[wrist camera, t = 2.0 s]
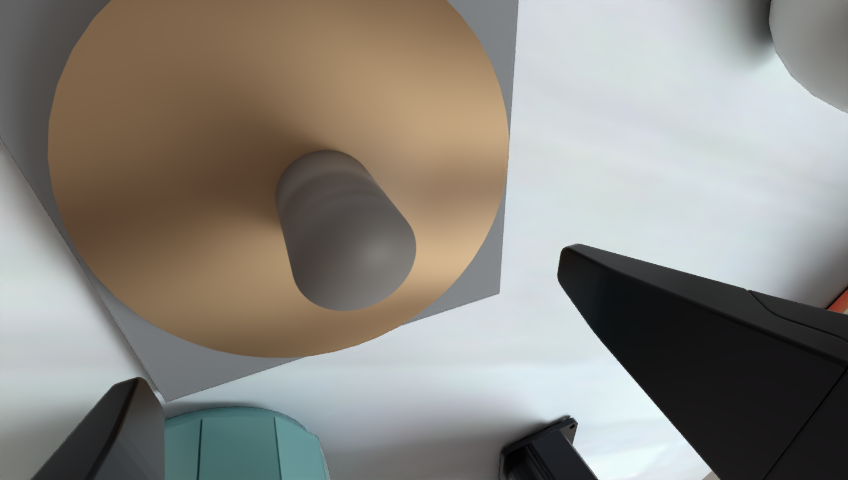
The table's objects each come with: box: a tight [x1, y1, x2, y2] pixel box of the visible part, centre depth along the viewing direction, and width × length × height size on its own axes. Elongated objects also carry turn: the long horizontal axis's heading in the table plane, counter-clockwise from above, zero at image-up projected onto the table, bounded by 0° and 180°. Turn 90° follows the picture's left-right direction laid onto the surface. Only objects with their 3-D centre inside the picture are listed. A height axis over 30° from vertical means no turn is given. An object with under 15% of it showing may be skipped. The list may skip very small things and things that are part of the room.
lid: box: [48, 0, 509, 358], centre depth 12 cm, size 14×14×5 cm
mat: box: [0, 0, 519, 402], centre depth 14 cm, size 15×15×1 cm
